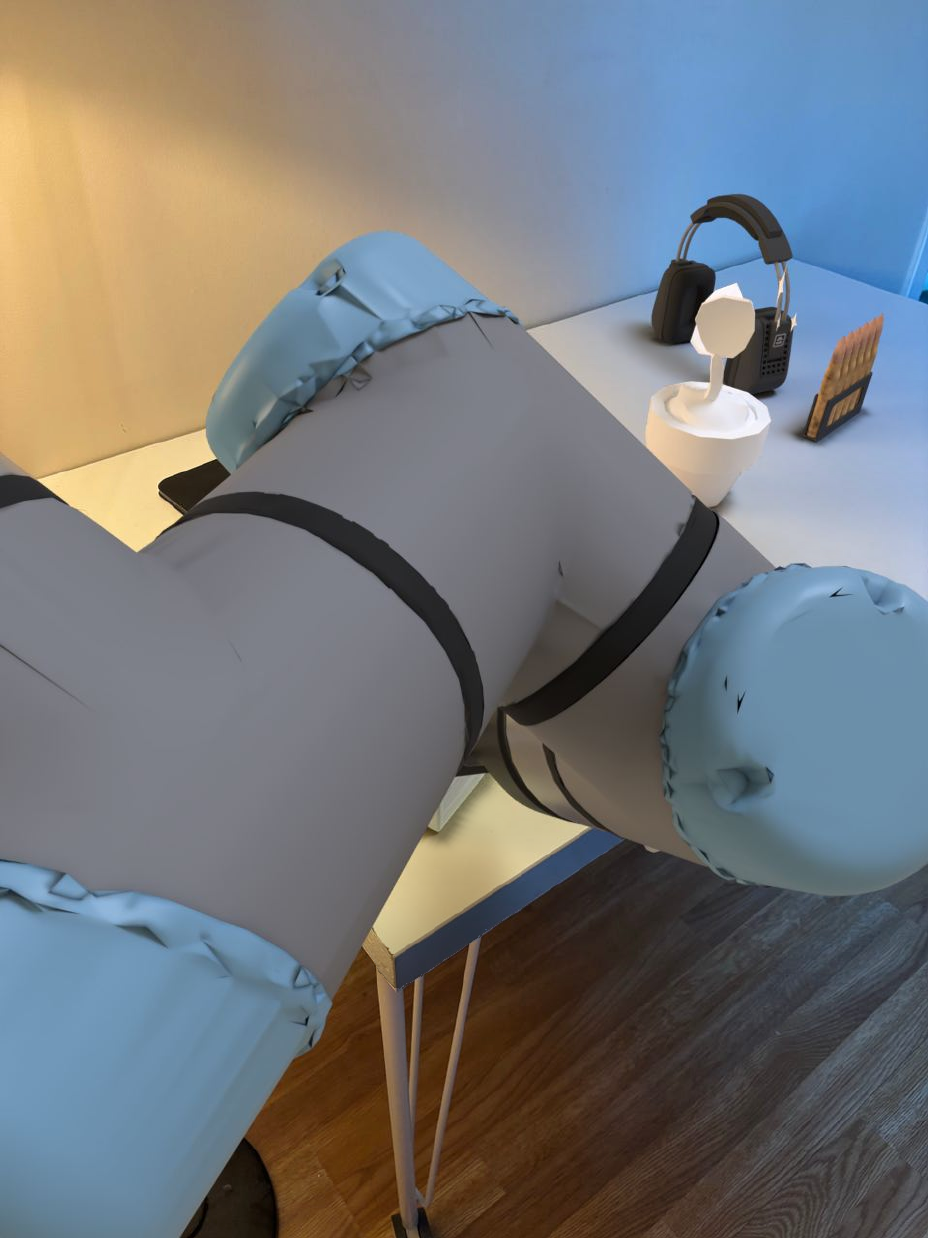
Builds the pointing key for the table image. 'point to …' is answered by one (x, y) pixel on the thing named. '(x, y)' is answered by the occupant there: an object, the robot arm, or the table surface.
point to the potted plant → (711, 406)
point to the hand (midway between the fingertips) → (459, 718)
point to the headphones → (695, 283)
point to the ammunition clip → (844, 381)
